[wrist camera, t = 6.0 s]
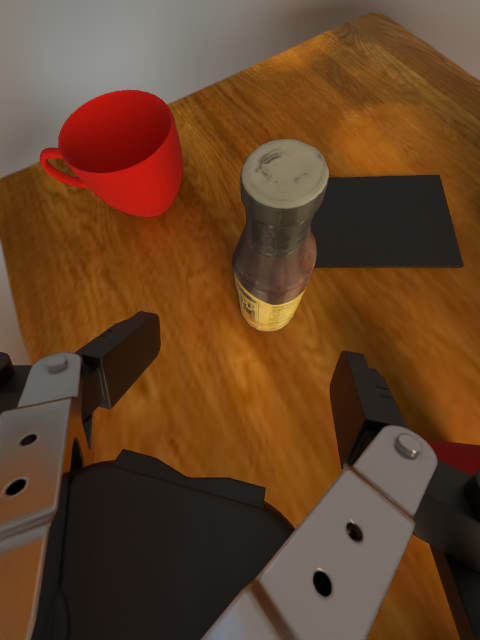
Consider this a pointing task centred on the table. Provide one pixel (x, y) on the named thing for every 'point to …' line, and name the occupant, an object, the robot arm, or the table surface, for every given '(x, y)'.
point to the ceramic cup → (122, 152)
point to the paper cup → (458, 455)
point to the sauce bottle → (277, 230)
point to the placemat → (385, 223)
